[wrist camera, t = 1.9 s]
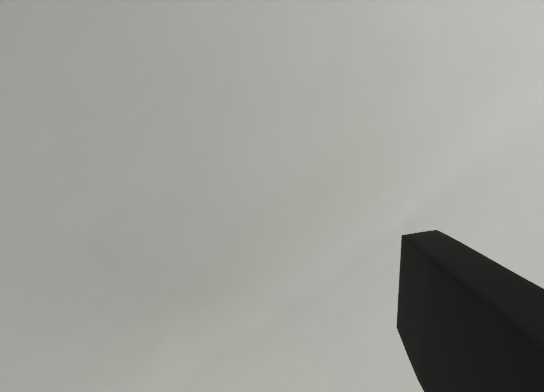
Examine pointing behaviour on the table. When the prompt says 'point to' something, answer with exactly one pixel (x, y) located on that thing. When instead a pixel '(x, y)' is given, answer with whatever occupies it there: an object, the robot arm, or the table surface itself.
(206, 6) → the table surface
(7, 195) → the table surface
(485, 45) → the table surface
